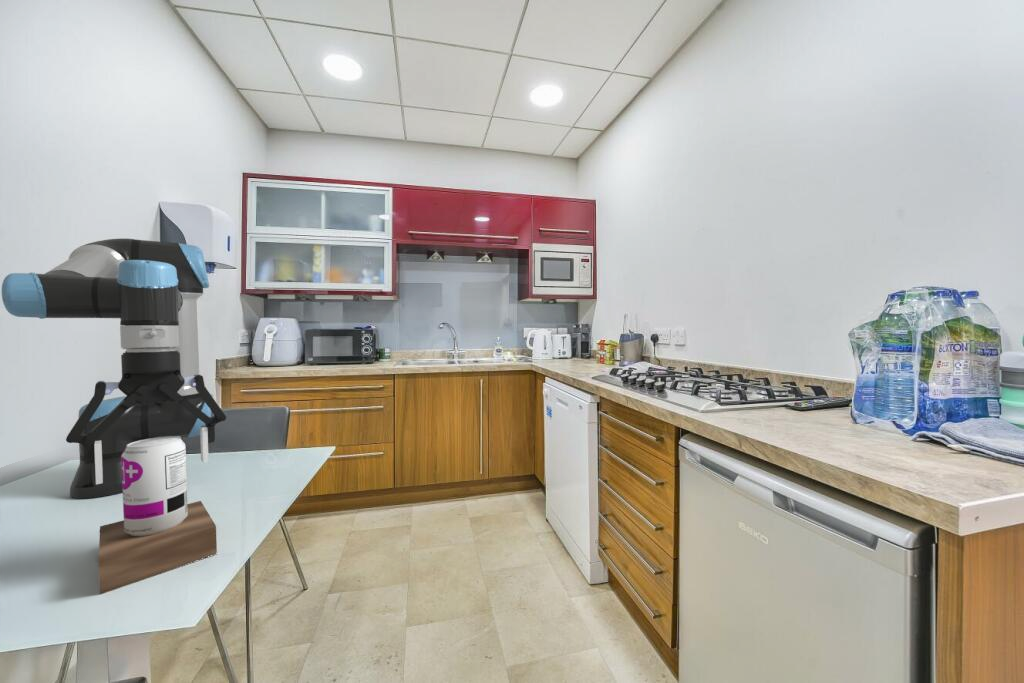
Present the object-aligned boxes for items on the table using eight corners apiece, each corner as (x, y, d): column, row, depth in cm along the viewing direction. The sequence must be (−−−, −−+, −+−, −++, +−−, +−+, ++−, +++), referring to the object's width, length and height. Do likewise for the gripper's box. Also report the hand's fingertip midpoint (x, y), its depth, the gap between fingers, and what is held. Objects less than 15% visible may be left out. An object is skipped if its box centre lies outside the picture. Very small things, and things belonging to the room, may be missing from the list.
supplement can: (133, 543, 62) (130, 450, 62) (118, 530, 66) (115, 443, 66) (195, 521, 69) (192, 438, 69) (177, 511, 73) (175, 433, 73)
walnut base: (101, 554, 68) (100, 526, 68) (201, 525, 78) (200, 500, 78) (99, 594, 57) (98, 561, 57) (216, 554, 67) (216, 525, 67)
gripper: (35, 354, 56) (42, 499, 56) (241, 347, 74) (245, 457, 74) (41, 353, 61) (47, 486, 61) (233, 347, 79) (236, 449, 79)
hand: (155, 470), depth 68 cm, fingers open, 13 cm apart
